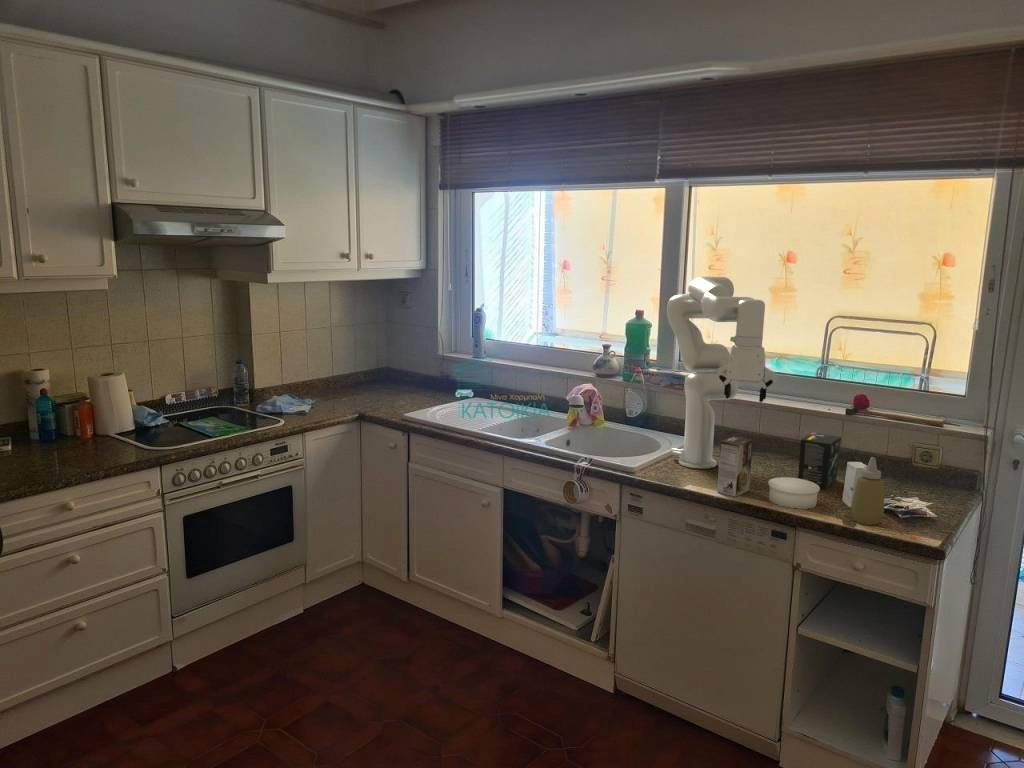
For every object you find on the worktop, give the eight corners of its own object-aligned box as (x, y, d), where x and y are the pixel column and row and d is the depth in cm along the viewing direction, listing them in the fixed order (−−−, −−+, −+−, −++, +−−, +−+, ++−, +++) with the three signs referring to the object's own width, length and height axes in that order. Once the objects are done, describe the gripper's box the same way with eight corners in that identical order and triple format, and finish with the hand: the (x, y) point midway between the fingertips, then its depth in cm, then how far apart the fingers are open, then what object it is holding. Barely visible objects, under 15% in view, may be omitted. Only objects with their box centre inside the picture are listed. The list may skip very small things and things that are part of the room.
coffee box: (730, 485, 231) (734, 435, 228) (750, 490, 227) (753, 439, 224) (716, 492, 224) (719, 440, 221) (735, 497, 220) (739, 444, 217)
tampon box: (807, 475, 243) (811, 431, 240) (837, 481, 237) (841, 436, 234) (796, 483, 234) (800, 438, 231) (826, 489, 228) (831, 443, 226)
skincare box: (841, 501, 218) (845, 461, 216) (856, 501, 218) (861, 461, 216) (850, 508, 212) (854, 467, 210) (866, 508, 212) (870, 467, 210)
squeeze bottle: (887, 522, 202) (894, 458, 199) (875, 529, 197) (883, 464, 193) (856, 514, 208) (863, 451, 204) (844, 521, 202) (851, 457, 199)
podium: (763, 504, 215) (764, 487, 214) (771, 490, 227) (772, 474, 226) (814, 512, 208) (816, 495, 207) (820, 498, 220) (822, 482, 219)
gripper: (715, 341, 218) (712, 398, 221) (777, 345, 210) (772, 405, 213) (721, 338, 224) (717, 394, 228) (781, 342, 216) (777, 400, 220)
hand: (744, 399), depth 220 cm, fingers open, 9 cm apart
